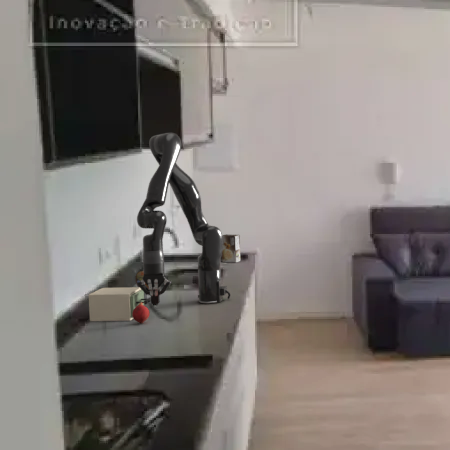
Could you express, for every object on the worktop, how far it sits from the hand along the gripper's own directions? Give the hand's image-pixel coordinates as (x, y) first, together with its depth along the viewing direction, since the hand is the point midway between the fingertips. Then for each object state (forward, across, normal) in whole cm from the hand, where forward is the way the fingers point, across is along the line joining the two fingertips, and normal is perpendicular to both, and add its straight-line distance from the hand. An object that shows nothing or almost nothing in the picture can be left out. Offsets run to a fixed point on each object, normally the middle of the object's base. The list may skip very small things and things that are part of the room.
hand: (155, 304), depth 246 cm
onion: (+5, +2, +11) cm, 12 cm away
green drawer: (+4, +11, 0) cm, 11 cm away
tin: (+5, +21, -52) cm, 57 cm away
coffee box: (+5, -1, -130) cm, 130 cm away
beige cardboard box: (+4, +15, 0) cm, 15 cm away
